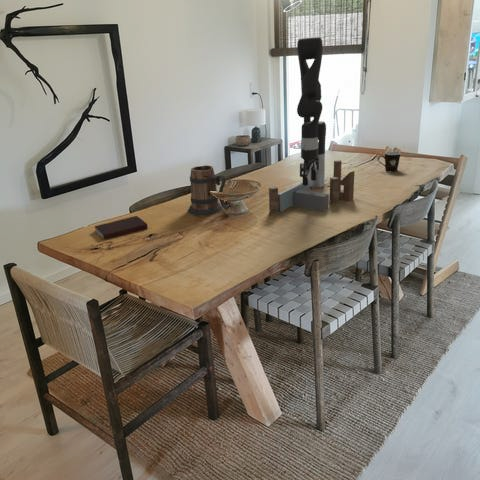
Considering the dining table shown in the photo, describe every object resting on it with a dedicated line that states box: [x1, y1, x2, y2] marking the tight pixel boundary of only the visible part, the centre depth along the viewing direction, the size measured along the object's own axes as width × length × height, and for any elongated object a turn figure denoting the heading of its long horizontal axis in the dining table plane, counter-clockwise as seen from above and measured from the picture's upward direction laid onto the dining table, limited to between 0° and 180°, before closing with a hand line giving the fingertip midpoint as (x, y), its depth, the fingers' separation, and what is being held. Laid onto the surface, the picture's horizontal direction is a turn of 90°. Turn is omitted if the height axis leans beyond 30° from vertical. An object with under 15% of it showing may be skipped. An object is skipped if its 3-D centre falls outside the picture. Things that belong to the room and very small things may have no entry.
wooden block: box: [332, 159, 355, 202], centre depth 225 cm, size 4×11×18 cm, turn 40°
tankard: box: [187, 164, 231, 217], centre depth 218 cm, size 24×17×20 cm
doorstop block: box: [292, 190, 330, 212], centre depth 218 cm, size 16×4×7 cm, turn 53°
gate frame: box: [268, 176, 340, 216], centre depth 216 cm, size 3×34×12 cm, turn 111°
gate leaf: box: [278, 180, 310, 213], centre depth 222 cm, size 2×27×8 cm, turn 143°
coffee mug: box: [377, 151, 402, 173], centre depth 270 cm, size 12×9×10 cm
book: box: [94, 215, 149, 240], centre depth 203 cm, size 12×19×3 cm, turn 123°
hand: (309, 182), depth 215 cm, fingers open, 8 cm apart
